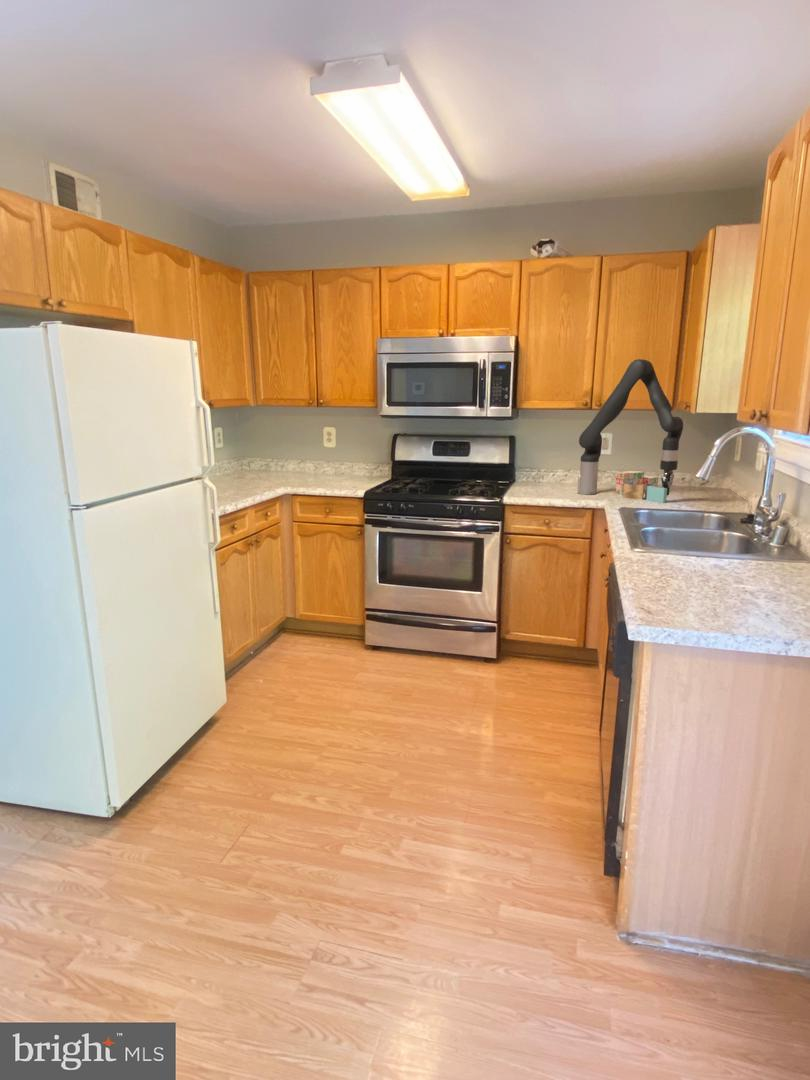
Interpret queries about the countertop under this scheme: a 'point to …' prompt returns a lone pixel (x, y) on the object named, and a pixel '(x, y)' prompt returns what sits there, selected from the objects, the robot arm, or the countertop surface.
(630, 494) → the fence fixed panel
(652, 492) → the fence free panel
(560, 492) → the countertop surface
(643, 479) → the stack of blocks
